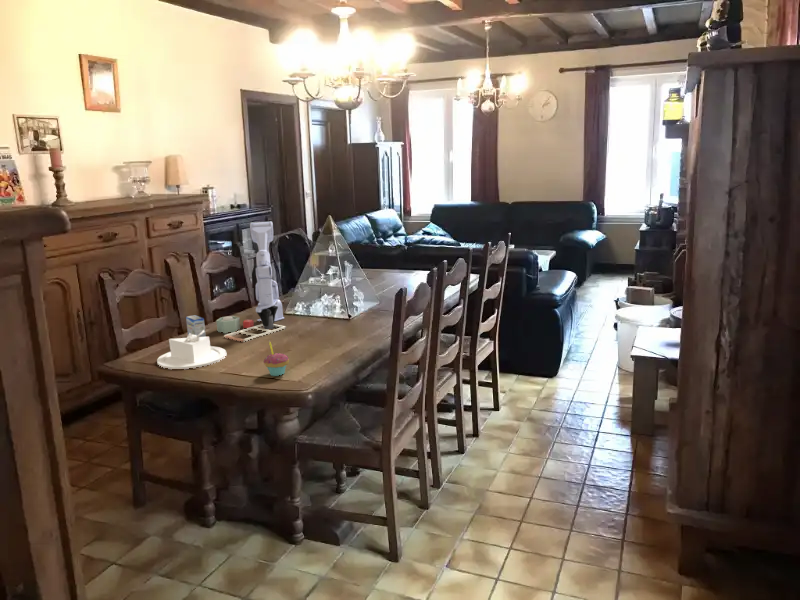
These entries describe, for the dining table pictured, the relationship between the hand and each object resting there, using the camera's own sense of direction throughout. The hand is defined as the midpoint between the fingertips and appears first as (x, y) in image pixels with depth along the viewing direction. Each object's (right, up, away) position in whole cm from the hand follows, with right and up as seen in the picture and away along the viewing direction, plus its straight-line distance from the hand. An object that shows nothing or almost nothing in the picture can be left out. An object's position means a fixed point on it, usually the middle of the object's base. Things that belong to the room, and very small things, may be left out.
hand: (268, 324), depth 283 cm
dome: (-17, -1, +1) cm, 17 cm away
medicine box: (-28, -5, -7) cm, 30 cm away
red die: (-9, -1, +4) cm, 10 cm away
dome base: (-17, -2, +1) cm, 18 cm away
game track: (-4, -3, -5) cm, 8 cm away
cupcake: (+14, -15, -56) cm, 59 cm away
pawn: (0, -2, 0) cm, 2 cm away
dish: (-22, -12, -35) cm, 43 cm away
